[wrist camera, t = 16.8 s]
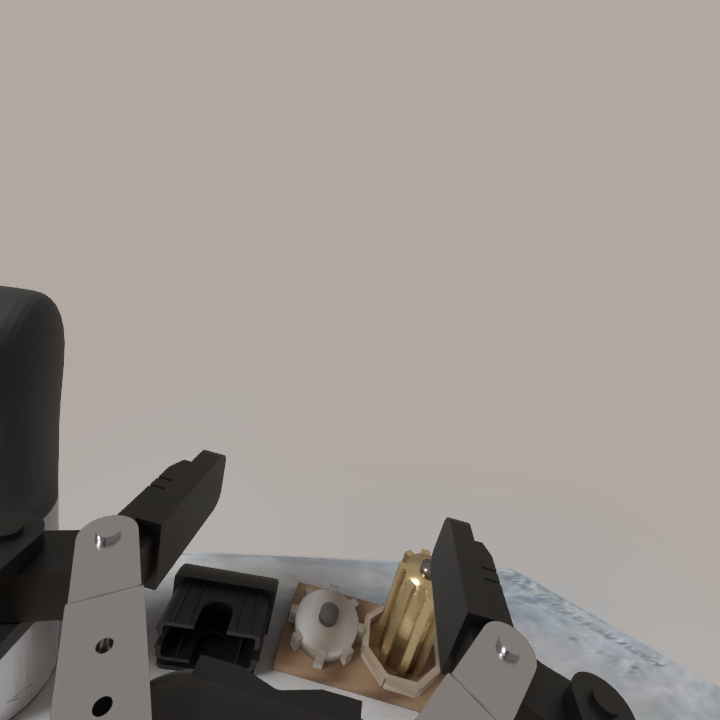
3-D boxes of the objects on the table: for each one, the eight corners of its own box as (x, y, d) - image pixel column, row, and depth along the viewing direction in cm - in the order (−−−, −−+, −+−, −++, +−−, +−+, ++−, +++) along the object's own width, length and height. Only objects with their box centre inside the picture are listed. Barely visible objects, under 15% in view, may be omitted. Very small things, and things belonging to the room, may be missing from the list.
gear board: (272, 669, 36) (278, 642, 35) (296, 589, 45) (302, 566, 44) (521, 741, 36) (535, 716, 34) (497, 646, 44) (508, 624, 43)
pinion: (370, 671, 37) (402, 583, 34) (374, 617, 43) (401, 536, 39) (426, 687, 37) (464, 600, 33) (423, 631, 42) (454, 551, 39)
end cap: (271, 611, 42) (282, 565, 40) (256, 682, 35) (267, 632, 33) (182, 597, 41) (188, 549, 39) (148, 667, 34) (153, 614, 32)
